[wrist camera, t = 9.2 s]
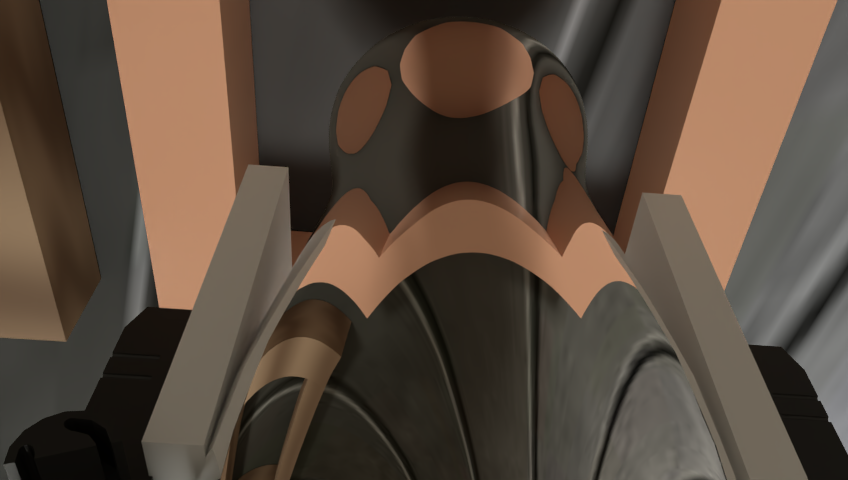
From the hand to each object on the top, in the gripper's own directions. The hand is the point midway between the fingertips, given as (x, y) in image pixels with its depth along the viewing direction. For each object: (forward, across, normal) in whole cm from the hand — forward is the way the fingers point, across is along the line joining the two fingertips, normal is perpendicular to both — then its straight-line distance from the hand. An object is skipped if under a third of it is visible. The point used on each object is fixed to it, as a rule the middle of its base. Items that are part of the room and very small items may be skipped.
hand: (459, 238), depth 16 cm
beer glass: (+4, 0, 0) cm, 4 cm away
